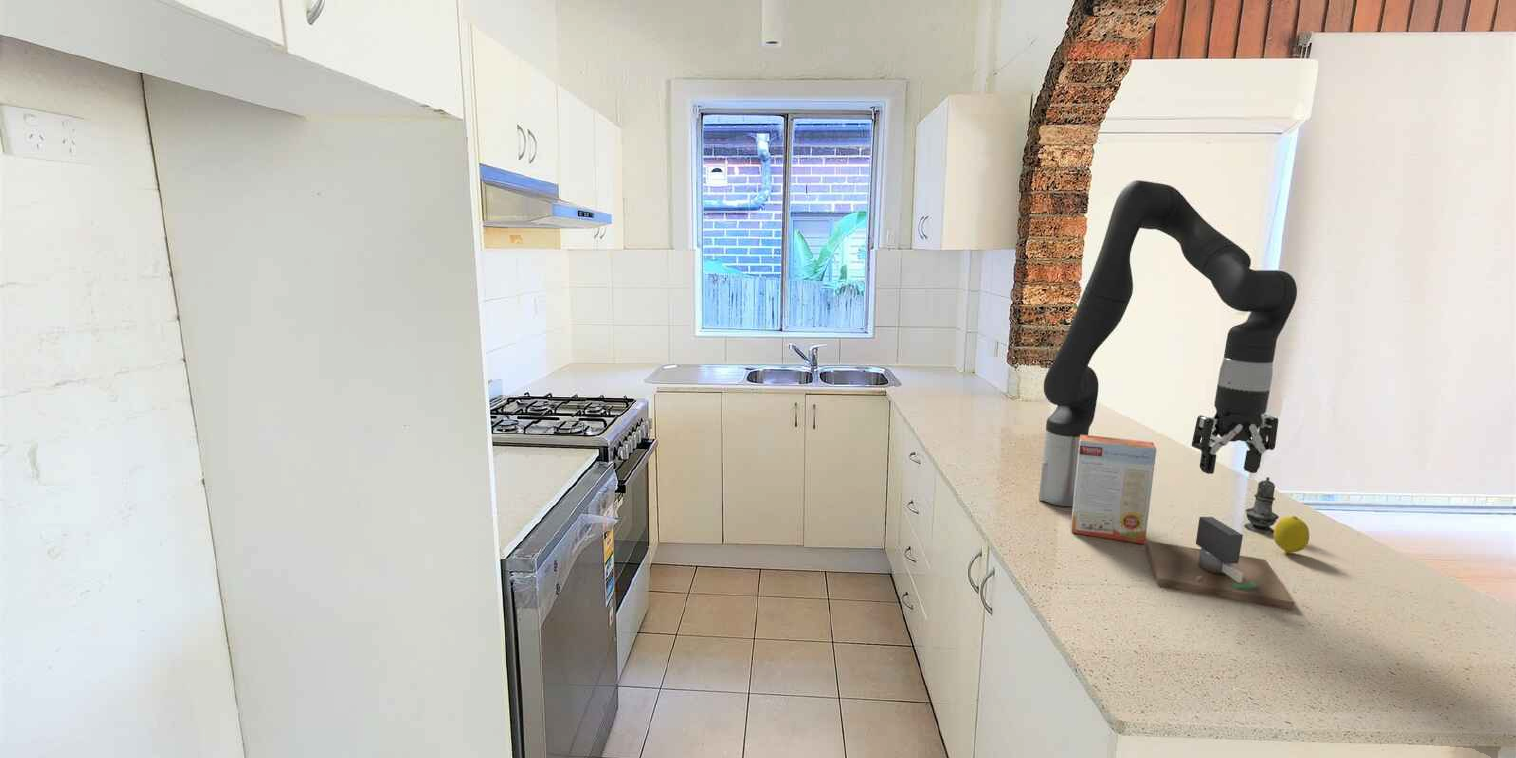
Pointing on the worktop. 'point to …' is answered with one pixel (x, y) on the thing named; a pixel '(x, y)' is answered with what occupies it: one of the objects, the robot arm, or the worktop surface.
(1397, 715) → the worktop surface
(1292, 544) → the lemon
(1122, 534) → the cracker box
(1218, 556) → the dial pointer knob
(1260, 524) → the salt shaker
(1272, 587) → the dial plate
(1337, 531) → the worktop surface
